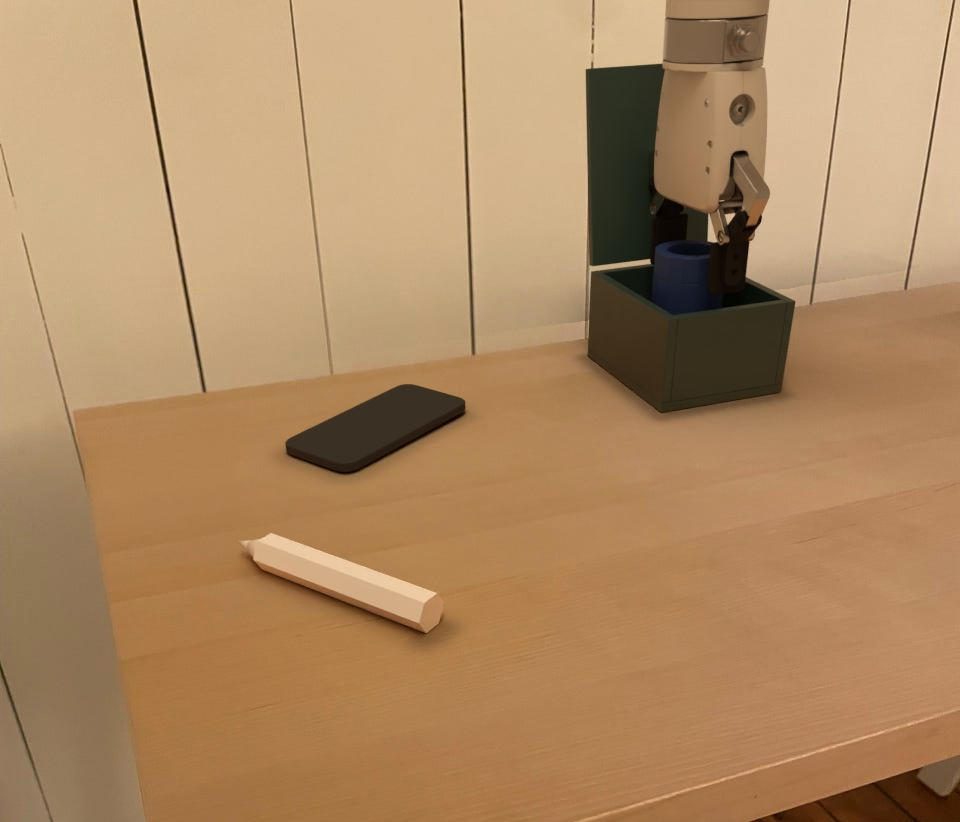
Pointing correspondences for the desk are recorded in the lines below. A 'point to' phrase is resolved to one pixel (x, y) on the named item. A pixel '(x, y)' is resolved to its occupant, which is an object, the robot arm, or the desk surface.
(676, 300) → the jar
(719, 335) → the chest
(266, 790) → the desk surface
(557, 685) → the desk surface
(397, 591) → the wooden pencil
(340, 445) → the phone
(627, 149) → the lid
